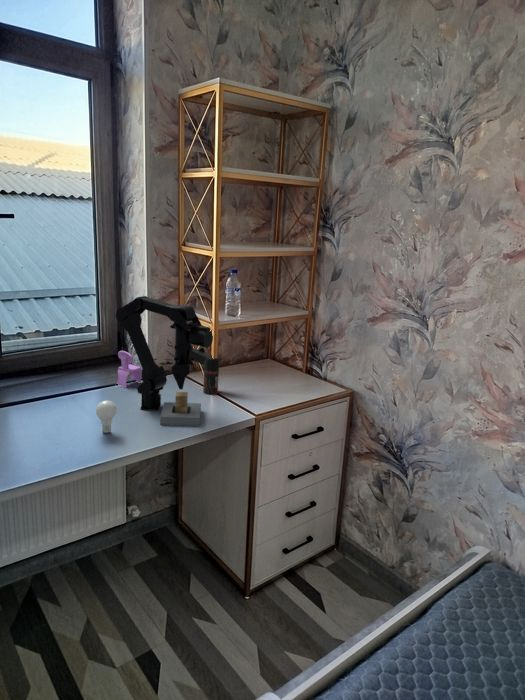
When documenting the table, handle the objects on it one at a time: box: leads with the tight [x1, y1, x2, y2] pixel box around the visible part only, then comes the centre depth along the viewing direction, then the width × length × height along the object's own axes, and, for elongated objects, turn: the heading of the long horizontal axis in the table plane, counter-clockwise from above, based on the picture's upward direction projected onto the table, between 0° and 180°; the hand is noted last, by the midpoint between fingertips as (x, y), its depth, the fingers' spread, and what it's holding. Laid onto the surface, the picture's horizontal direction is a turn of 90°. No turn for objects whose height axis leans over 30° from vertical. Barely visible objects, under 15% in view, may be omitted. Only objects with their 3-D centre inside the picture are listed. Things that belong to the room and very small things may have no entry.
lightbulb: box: [95, 399, 118, 434], centre depth 160 cm, size 6×6×11 cm
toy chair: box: [115, 350, 142, 388], centre depth 204 cm, size 8×9×15 cm
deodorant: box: [202, 354, 220, 396], centre depth 202 cm, size 6×6×15 cm
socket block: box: [159, 401, 202, 427], centre depth 176 cm, size 13×13×3 cm
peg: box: [174, 391, 189, 413], centre depth 176 cm, size 4×4×9 cm
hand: (182, 384), depth 175 cm, fingers open, 9 cm apart
